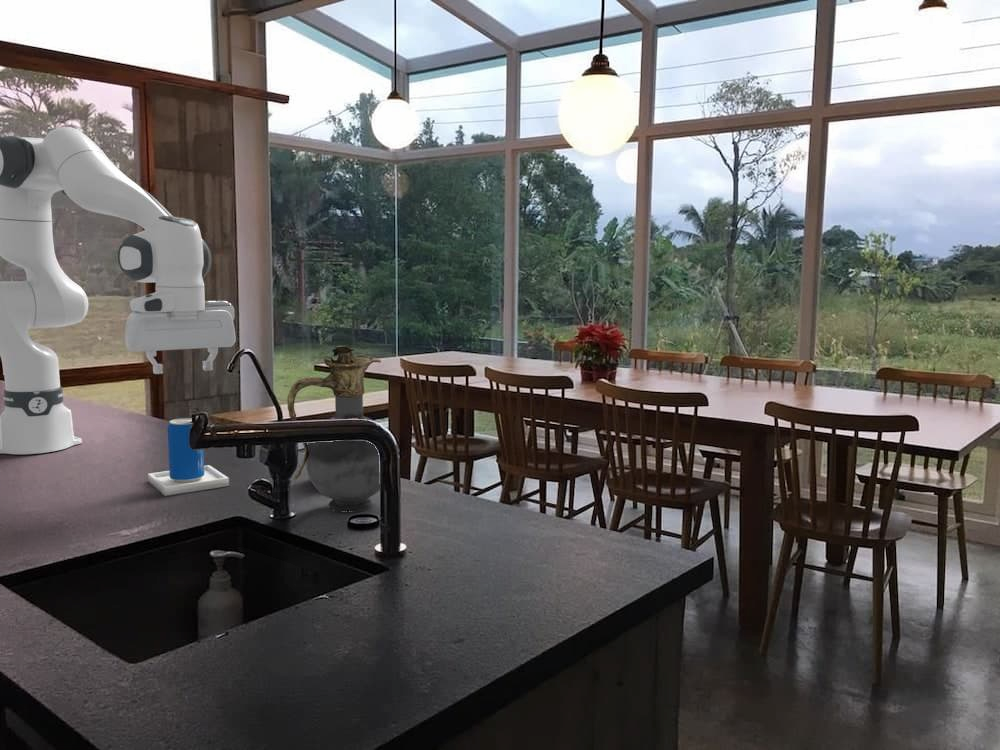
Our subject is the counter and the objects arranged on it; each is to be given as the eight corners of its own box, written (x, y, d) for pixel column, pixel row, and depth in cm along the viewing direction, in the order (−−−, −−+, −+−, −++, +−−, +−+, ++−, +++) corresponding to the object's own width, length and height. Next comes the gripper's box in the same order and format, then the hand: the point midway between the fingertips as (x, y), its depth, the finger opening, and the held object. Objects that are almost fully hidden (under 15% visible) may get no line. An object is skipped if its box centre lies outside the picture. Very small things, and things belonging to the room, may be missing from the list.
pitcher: (402, 508, 148) (401, 345, 144) (299, 525, 138) (295, 350, 134) (378, 493, 157) (377, 339, 153) (281, 508, 147) (276, 344, 143)
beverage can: (192, 484, 158) (190, 424, 157) (163, 482, 160) (160, 423, 158) (210, 476, 165) (208, 418, 163) (182, 474, 166) (179, 416, 164)
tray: (148, 481, 163) (148, 473, 163) (209, 472, 171) (209, 465, 170) (165, 495, 154) (164, 487, 154) (229, 485, 161) (228, 477, 161)
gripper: (228, 299, 166) (230, 366, 168) (121, 301, 153) (124, 373, 156) (239, 301, 161) (241, 370, 163) (129, 303, 148) (132, 377, 151)
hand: (183, 371), depth 159 cm, fingers open, 8 cm apart
